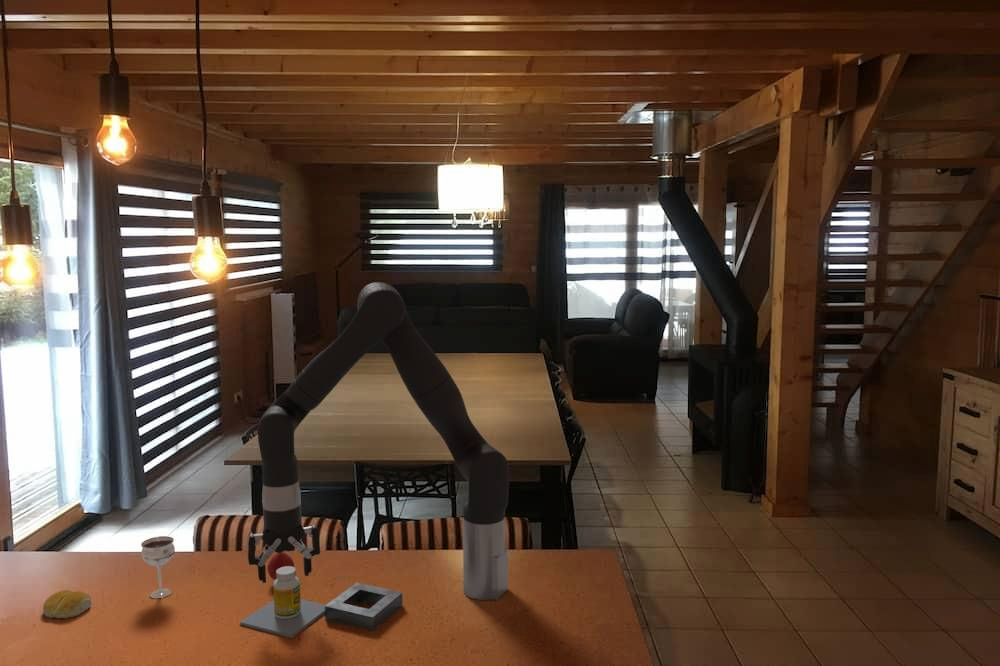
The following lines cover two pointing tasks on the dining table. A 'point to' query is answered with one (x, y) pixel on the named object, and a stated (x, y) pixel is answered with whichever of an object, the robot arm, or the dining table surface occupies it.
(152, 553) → the wineglass
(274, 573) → the onion
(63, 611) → the bread roll
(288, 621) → the rubber mat
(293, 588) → the supplement bottle
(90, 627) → the dining table surface
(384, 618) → the holder ring
